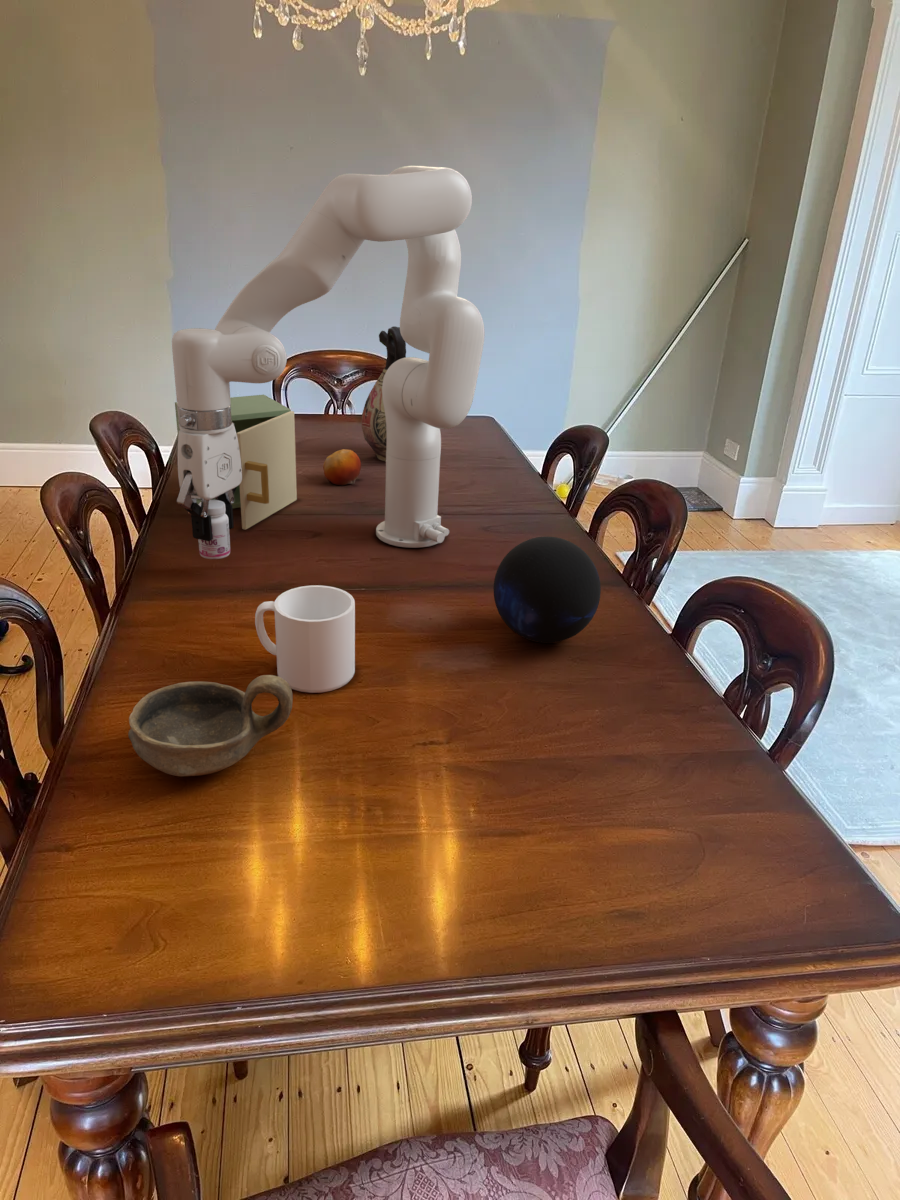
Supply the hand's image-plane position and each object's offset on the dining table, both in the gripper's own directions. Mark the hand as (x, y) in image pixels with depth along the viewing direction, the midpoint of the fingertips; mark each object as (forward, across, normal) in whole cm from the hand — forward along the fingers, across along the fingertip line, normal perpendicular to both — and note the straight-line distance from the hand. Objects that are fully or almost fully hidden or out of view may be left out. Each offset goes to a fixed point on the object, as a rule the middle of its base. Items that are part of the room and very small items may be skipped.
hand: (213, 531), depth 130 cm
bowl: (+8, -39, -27) cm, 48 cm away
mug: (+8, -19, -27) cm, 34 cm away
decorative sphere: (+7, +4, -53) cm, 53 cm away
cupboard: (+7, +33, +18) cm, 38 cm away
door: (+7, +27, +5) cm, 28 cm away
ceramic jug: (+7, +71, +1) cm, 72 cm away
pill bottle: (+4, 0, 0) cm, 4 cm away
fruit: (+7, +50, +4) cm, 51 cm away
